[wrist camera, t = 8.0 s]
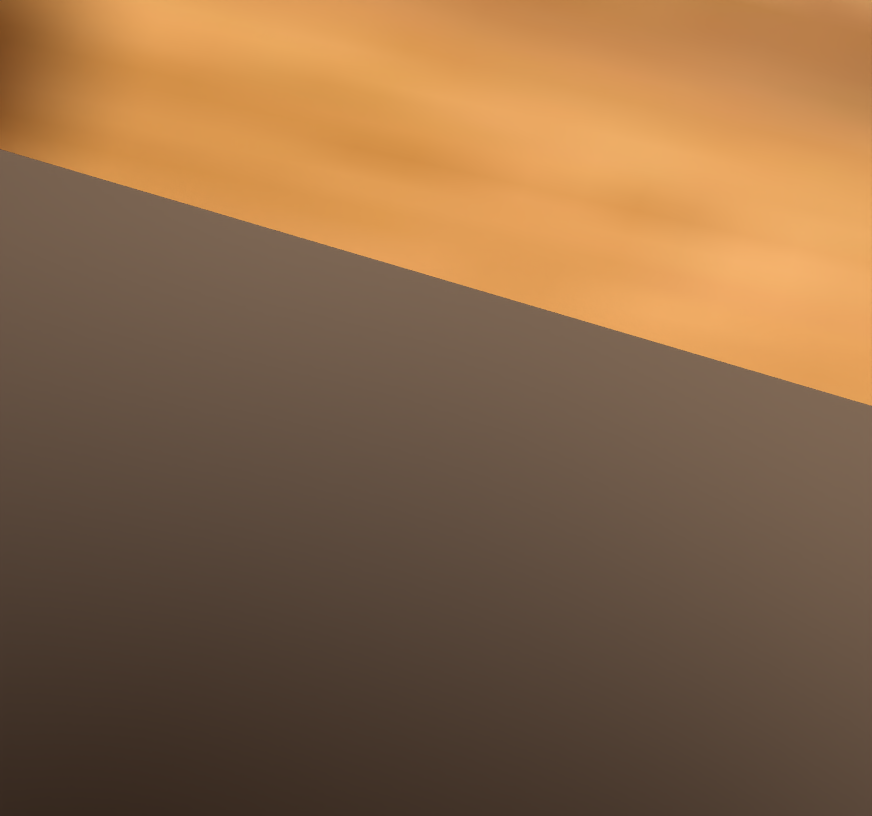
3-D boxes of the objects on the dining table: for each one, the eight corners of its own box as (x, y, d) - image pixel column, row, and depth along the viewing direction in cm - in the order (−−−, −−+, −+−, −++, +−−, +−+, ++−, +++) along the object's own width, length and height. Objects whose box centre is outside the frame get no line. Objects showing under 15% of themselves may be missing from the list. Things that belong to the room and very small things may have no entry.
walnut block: (474, 856, 15) (683, 2155, 2) (220, 765, 15) (-842, 1396, 3) (548, 590, 16) (945, 426, 3) (312, 513, 16) (-95, 121, 4)
